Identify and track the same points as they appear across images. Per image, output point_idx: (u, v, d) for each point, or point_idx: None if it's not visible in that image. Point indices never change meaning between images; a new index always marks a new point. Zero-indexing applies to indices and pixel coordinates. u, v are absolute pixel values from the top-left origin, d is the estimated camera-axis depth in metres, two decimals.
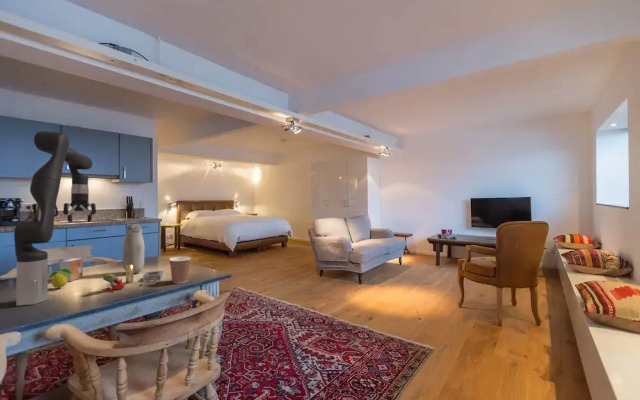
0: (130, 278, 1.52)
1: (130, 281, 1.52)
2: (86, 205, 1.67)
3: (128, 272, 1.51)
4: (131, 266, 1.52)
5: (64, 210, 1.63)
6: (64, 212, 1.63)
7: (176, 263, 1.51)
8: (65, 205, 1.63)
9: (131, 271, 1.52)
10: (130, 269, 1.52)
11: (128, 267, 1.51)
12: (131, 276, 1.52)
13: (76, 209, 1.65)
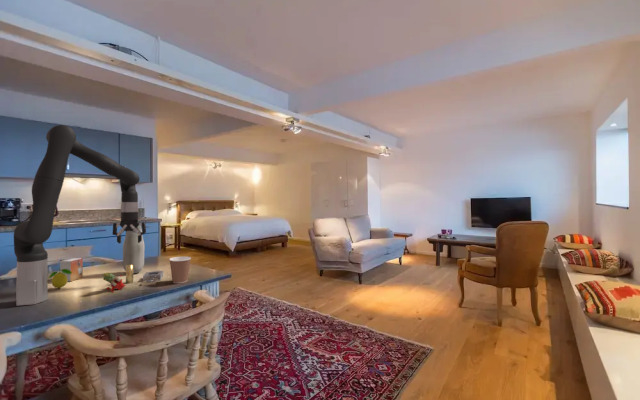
0: (130, 278, 1.52)
1: (130, 281, 1.52)
2: (136, 224, 1.53)
3: (128, 272, 1.51)
4: (131, 266, 1.52)
5: (114, 231, 1.49)
6: (113, 232, 1.49)
7: (176, 263, 1.51)
8: (114, 225, 1.50)
9: (131, 271, 1.52)
10: (130, 269, 1.52)
11: (128, 267, 1.51)
12: (131, 276, 1.52)
13: (126, 229, 1.51)
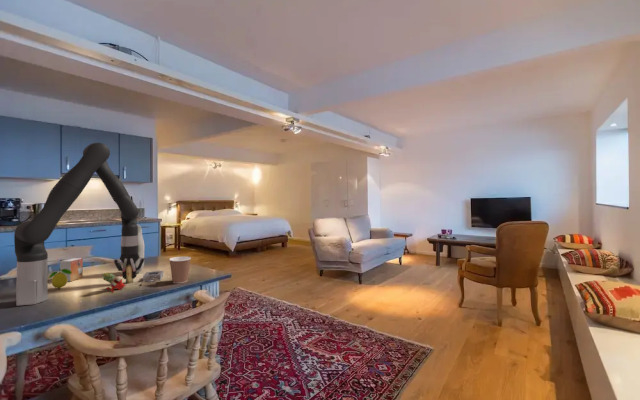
0: (130, 278, 1.52)
1: (130, 281, 1.52)
2: (136, 260, 1.53)
3: (128, 272, 1.51)
4: (131, 266, 1.52)
5: (118, 267, 1.50)
6: (119, 269, 1.50)
7: (176, 263, 1.51)
8: (116, 262, 1.50)
9: (131, 271, 1.52)
10: (130, 269, 1.52)
11: (128, 267, 1.51)
12: (131, 276, 1.52)
13: (128, 262, 1.52)
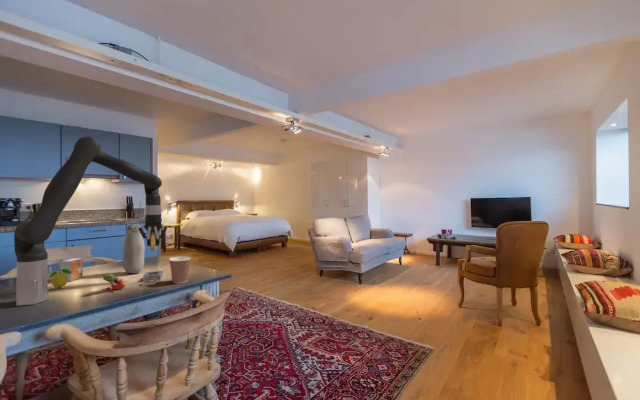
0: (154, 245, 1.59)
1: (154, 248, 1.59)
2: (159, 228, 1.60)
3: (152, 239, 1.58)
4: (155, 234, 1.59)
5: (142, 235, 1.57)
6: (143, 236, 1.57)
7: (176, 263, 1.51)
8: (140, 229, 1.57)
9: (155, 238, 1.59)
10: (154, 236, 1.59)
11: (152, 235, 1.58)
12: (155, 243, 1.59)
13: (152, 230, 1.59)
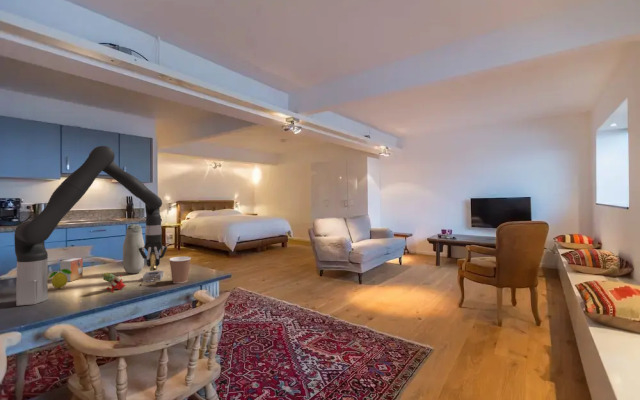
0: (153, 265, 1.59)
1: (154, 268, 1.59)
2: (159, 248, 1.60)
3: (152, 260, 1.58)
4: (155, 254, 1.59)
5: (142, 255, 1.57)
6: (143, 256, 1.57)
7: (176, 263, 1.51)
8: (140, 250, 1.57)
9: (155, 259, 1.59)
10: (154, 256, 1.59)
11: (152, 255, 1.58)
12: (155, 264, 1.59)
13: (152, 250, 1.59)
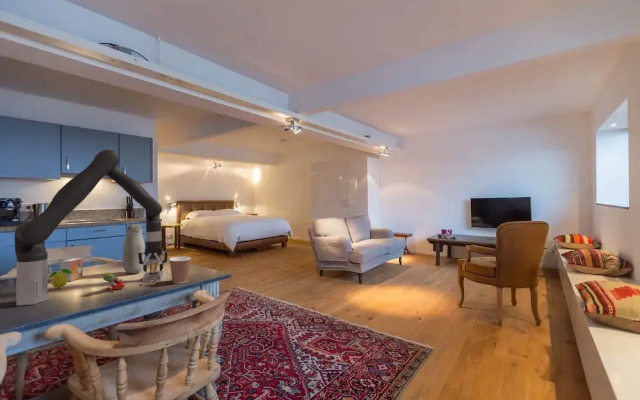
0: None
1: None
2: (160, 253, 1.60)
3: (152, 269, 1.58)
4: (155, 263, 1.59)
5: (140, 260, 1.57)
6: (140, 262, 1.57)
7: (176, 263, 1.51)
8: (140, 254, 1.57)
9: (155, 268, 1.59)
10: (154, 266, 1.59)
11: (152, 264, 1.58)
12: (155, 273, 1.59)
13: (151, 257, 1.58)
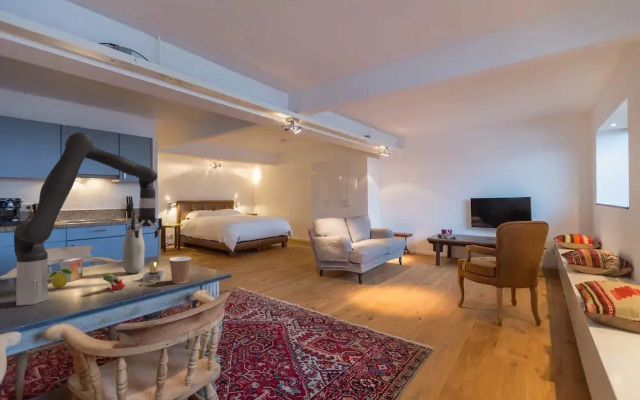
0: None
1: None
2: (153, 220, 1.59)
3: (152, 269, 1.58)
4: (155, 263, 1.59)
5: (132, 226, 1.55)
6: (132, 227, 1.55)
7: (176, 263, 1.51)
8: (133, 220, 1.55)
9: (155, 268, 1.59)
10: (154, 266, 1.59)
11: (152, 264, 1.58)
12: (155, 273, 1.59)
13: (143, 224, 1.57)
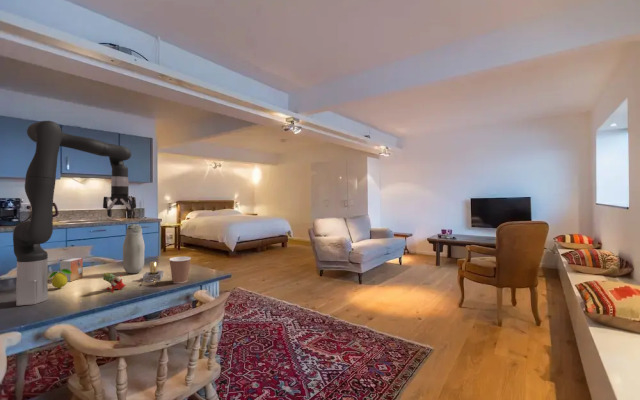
0: None
1: None
2: (126, 199, 1.56)
3: (152, 269, 1.58)
4: (155, 263, 1.59)
5: (104, 204, 1.53)
6: (104, 206, 1.53)
7: (176, 263, 1.51)
8: (105, 199, 1.53)
9: (155, 268, 1.59)
10: (154, 266, 1.59)
11: (152, 264, 1.58)
12: (155, 273, 1.59)
13: (116, 203, 1.55)
